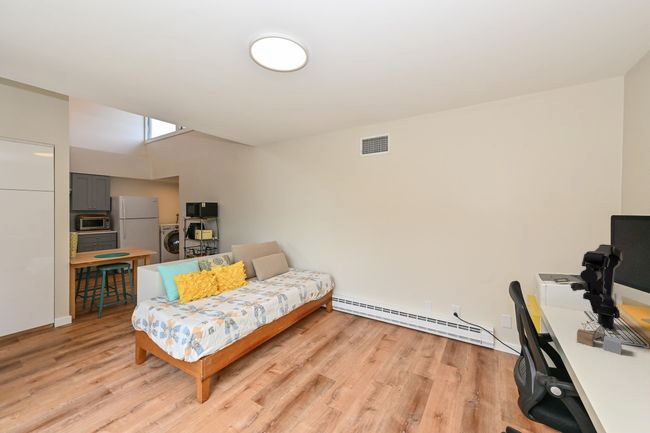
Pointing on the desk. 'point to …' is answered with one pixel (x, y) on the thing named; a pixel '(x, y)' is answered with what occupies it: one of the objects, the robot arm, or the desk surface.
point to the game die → (594, 328)
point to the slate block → (612, 344)
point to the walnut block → (585, 337)
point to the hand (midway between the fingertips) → (594, 310)
